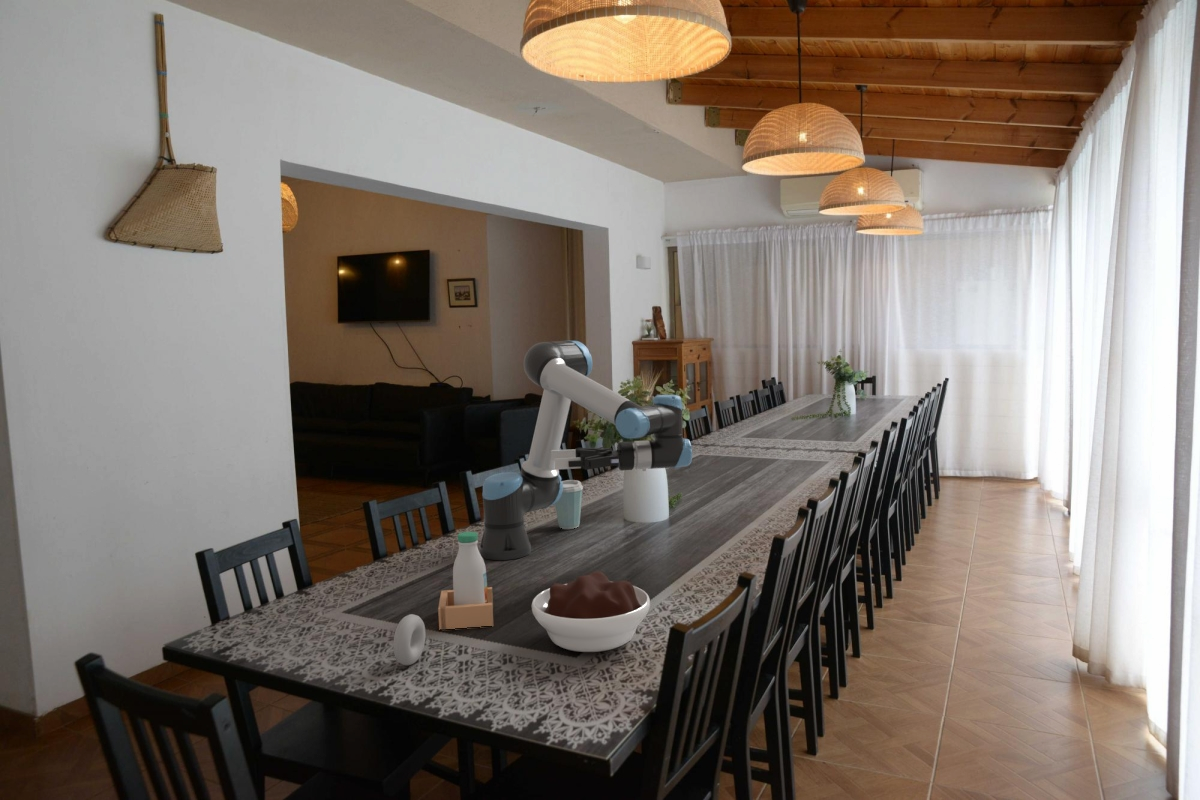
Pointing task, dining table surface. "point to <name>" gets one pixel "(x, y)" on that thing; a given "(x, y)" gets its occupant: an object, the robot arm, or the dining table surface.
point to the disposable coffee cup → (569, 505)
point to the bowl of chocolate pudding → (591, 612)
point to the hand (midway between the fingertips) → (553, 459)
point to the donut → (409, 639)
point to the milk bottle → (469, 572)
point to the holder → (464, 612)
